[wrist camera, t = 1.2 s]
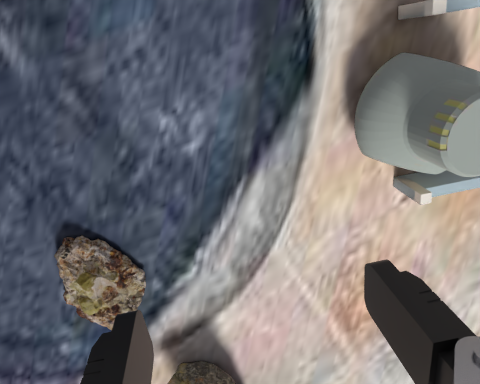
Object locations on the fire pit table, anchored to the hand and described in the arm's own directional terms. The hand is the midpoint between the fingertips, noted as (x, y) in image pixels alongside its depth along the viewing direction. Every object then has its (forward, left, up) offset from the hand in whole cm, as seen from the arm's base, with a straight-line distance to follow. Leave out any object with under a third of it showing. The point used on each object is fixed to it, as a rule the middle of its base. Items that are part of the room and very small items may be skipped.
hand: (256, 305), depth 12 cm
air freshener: (0, +17, -20) cm, 26 cm away
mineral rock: (+11, -14, -21) cm, 27 cm away
